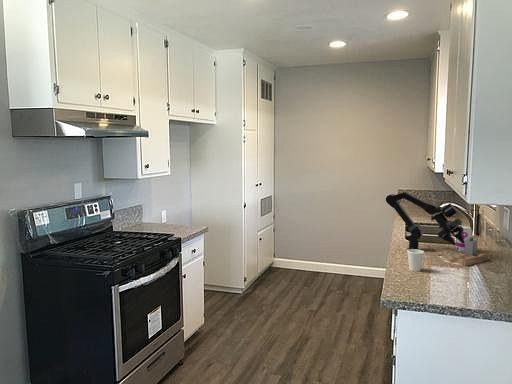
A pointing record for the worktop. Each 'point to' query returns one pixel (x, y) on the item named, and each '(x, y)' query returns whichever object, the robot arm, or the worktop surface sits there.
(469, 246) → the grey knobbed block
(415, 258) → the dixie cup
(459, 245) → the sparkling drink can
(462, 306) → the worktop surface
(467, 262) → the wooden dish rack
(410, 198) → the robot arm
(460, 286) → the worktop surface
